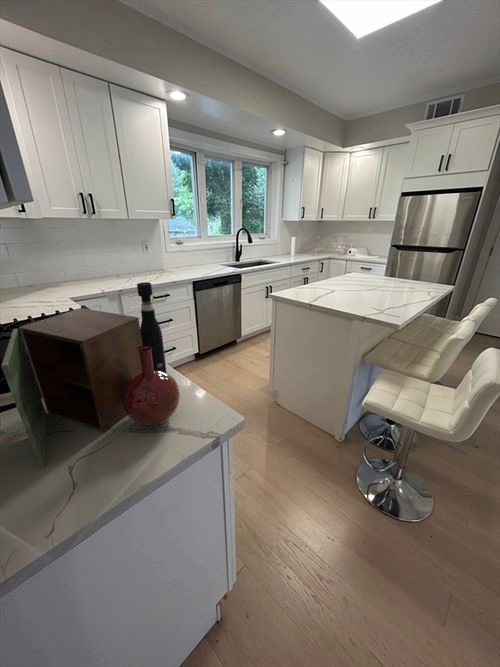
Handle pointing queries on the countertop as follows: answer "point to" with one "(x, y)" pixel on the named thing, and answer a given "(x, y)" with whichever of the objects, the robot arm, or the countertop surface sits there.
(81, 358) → the cupboard
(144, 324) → the wine bottle
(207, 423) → the countertop surface
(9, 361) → the cupboard door
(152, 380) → the round-bottom flask
